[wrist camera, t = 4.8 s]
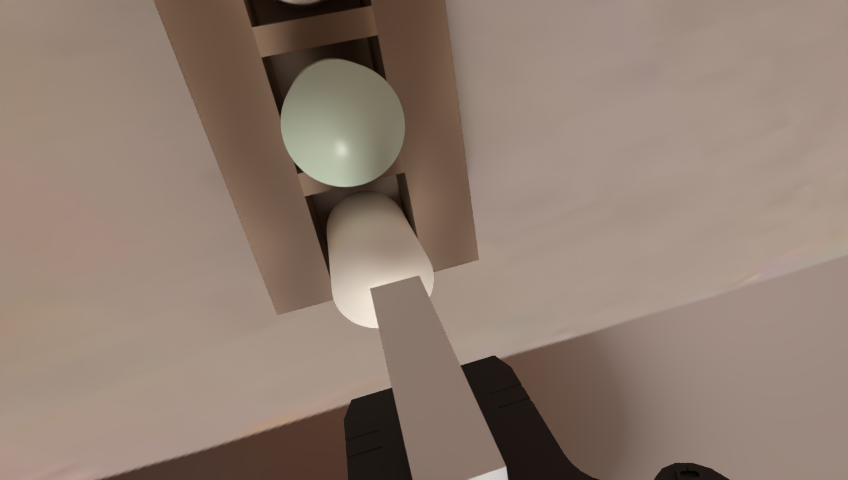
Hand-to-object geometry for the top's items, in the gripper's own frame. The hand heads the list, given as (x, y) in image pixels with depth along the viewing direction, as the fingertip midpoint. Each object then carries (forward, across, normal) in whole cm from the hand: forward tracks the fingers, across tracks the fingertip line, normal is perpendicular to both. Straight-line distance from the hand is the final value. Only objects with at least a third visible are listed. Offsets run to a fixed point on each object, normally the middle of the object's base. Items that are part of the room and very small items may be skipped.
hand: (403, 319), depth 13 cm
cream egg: (+7, 0, 0) cm, 7 cm away
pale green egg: (+7, 0, +6) cm, 9 cm away
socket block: (+11, 0, +6) cm, 13 cm away
